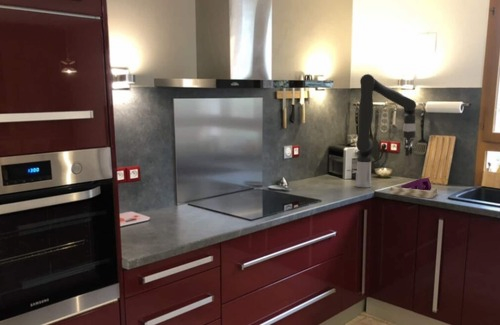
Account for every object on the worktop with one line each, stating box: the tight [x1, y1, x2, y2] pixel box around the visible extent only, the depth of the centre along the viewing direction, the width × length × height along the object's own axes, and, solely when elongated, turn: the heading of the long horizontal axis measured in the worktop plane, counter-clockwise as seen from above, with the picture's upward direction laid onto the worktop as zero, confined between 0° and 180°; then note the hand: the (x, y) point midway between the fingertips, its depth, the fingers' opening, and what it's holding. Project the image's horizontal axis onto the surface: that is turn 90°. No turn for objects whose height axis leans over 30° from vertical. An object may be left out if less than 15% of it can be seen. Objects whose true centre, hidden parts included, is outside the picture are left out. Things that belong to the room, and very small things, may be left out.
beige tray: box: [390, 186, 438, 199], centre depth 281 cm, size 25×14×4 cm, turn 59°
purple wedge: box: [400, 177, 432, 191], centre depth 289 cm, size 10×8×18 cm
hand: (408, 154), depth 296 cm, fingers open, 8 cm apart
